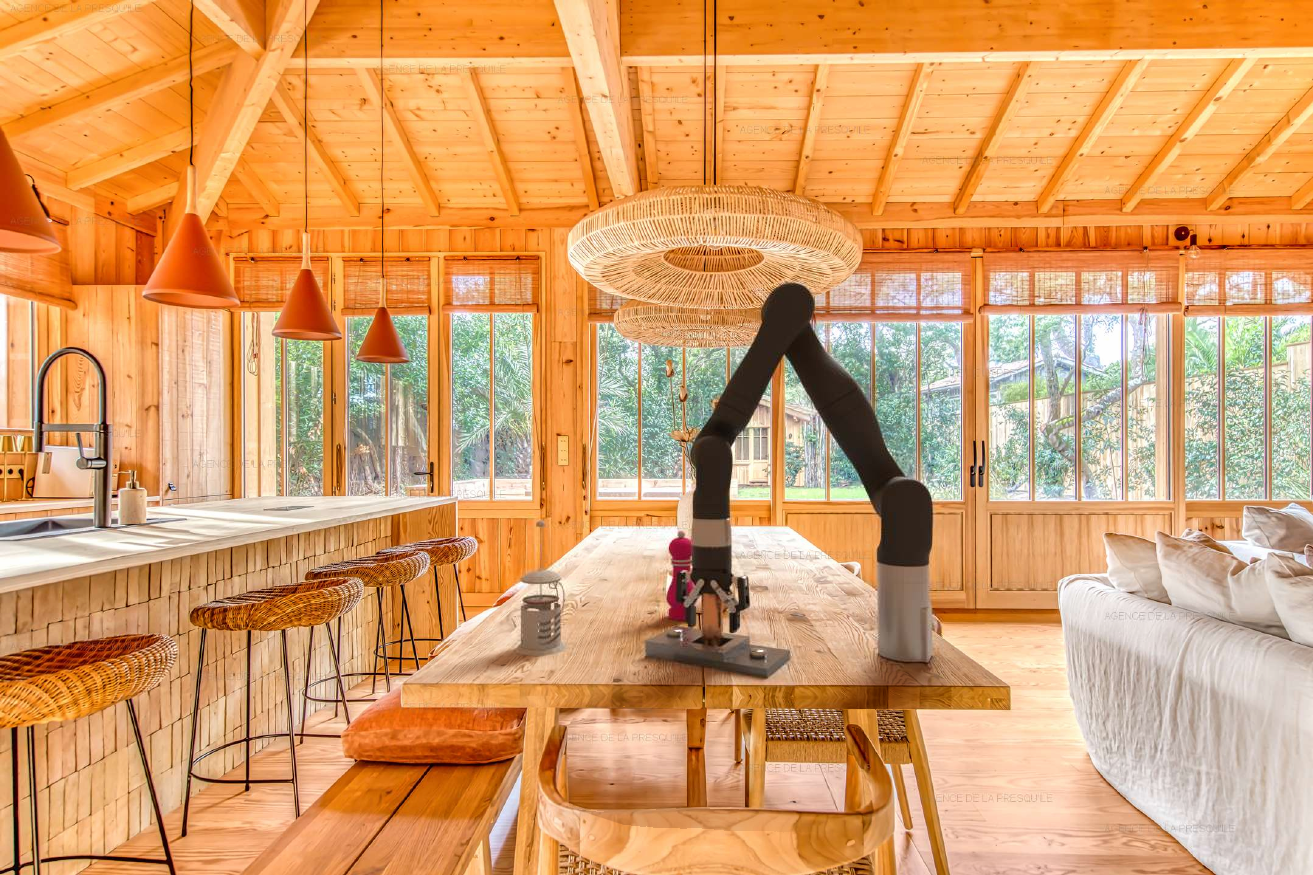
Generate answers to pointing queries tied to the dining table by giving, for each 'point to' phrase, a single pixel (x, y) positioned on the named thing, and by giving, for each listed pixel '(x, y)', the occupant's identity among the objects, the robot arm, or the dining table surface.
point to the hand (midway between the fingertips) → (712, 629)
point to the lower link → (744, 661)
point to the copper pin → (712, 620)
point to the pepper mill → (680, 561)
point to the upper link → (692, 645)
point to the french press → (541, 614)
